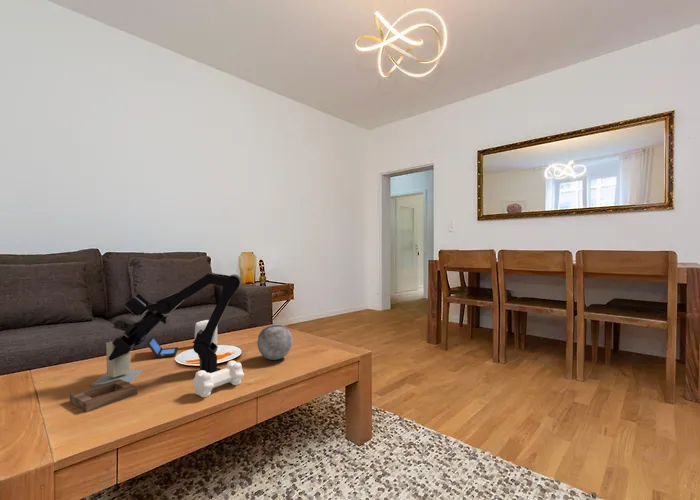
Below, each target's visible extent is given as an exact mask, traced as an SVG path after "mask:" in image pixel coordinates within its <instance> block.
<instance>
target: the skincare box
mask: <svg viewBox="0 0 700 500" xmlns="http://www.w3.org/2000/svg"><path fill="white" fill-rule="evenodd" d="M113 341H114V340H112V341H108V342H105V344H106V345H105V348H106V349H105V350H106V353H105V354H106V373H107V375H108V376H111V377H116V376H119V375H122V374H125V373H128V372H130V371H131V370H132V369H131V368H132V367H131V351H130V352H128V353H127V354H124V355H122V356H120V357H117V358H115V359H113V360H111V361H110V360H109V359H108V358H109V356H110V355H111V353H112V352H113V350H114V348H115V345H113V344H112V342H113Z"/></svg>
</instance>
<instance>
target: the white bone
mask: <svg viewBox="0 0 700 500" xmlns="http://www.w3.org/2000/svg"><path fill="white" fill-rule="evenodd" d="M226 363H227V364H226V366H225V368H223V369H220V370H219V371H216V372H213V373H207V372H206V371H204V370H200V371H198V372H195V376H194V377H193V380H192V384H193V388H194V393H195V394H196V395H197V396H199V397H201V398H208V397H209V396H211V393H212V390H213V389H214V388H217V387H221V386H222V385H225V384H227V383H228V384H231V385H232V386H238V385H240V384H241V383H242V379H243V377H244V376H245V373H244V371H243V366H242V363H241V362H237V361H235V360H229V361H228V362H226Z"/></svg>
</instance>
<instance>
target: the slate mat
mask: <svg viewBox="0 0 700 500" xmlns="http://www.w3.org/2000/svg"><path fill="white" fill-rule="evenodd" d="M142 372H143V369H141V368H140V369H131V371H130V372H128V373H125V374H122V375H119V376H116V377H111V376H108V375H107V372H106V373H104V374H103V375H102V376H100V377H99V378H97V380H95V381H94V382H93V383H91V384H90V387H95V386H98V385H101V384H105V383H108V382H111V381H114V380H118V379H121V380H123V381H125V382H128V383H130V384H132V382H133V381H134V380H135V379H136V378H137V377H138V376H139V375H140V374H141V373H142Z"/></svg>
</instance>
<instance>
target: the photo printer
mask: <svg viewBox="0 0 700 500" xmlns="http://www.w3.org/2000/svg"><path fill="white" fill-rule="evenodd" d="M208 321H209V319H205V320H201V321H198V322H195V325H194V340H195V339H196V335H197V333H198V332H199V330H200V329H201V330H203V331H204V329H205V328H206V326H207V324H208ZM212 342H213V343H214V344H216V345H217V346H218V326H217V327H216V329H215V333H214V338H213V341H212Z"/></svg>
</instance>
